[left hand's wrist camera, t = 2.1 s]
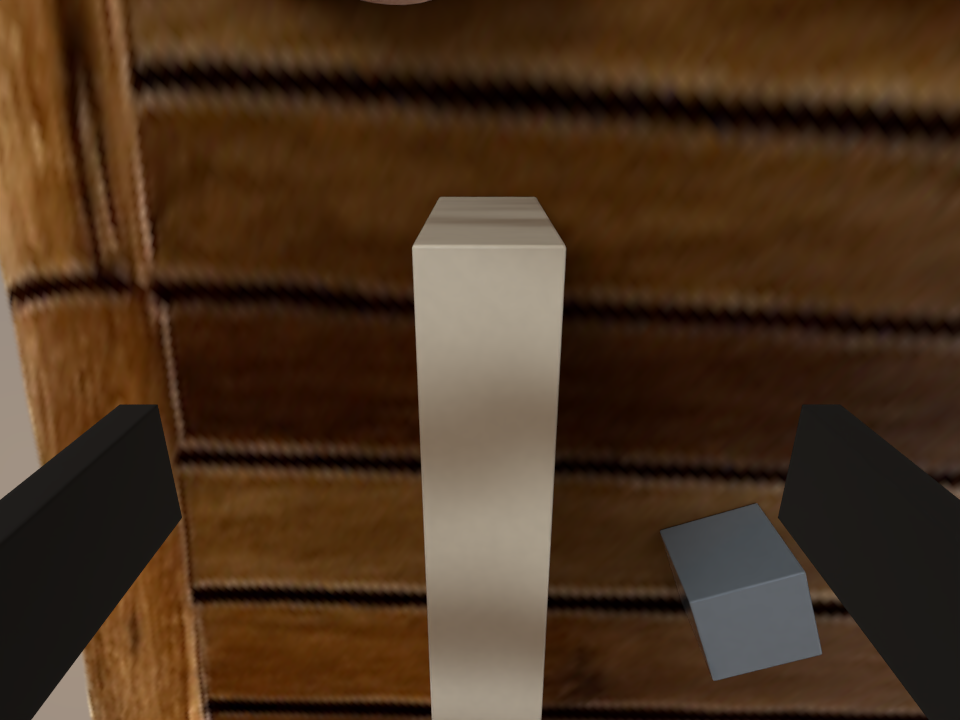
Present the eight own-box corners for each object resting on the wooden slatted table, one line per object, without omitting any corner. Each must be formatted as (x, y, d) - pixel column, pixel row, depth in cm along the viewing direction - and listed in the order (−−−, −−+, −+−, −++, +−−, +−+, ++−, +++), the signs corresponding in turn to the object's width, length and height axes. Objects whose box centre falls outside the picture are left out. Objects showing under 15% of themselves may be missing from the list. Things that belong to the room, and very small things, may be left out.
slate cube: (757, 502, 30) (806, 571, 26) (774, 577, 32) (823, 655, 27) (659, 529, 31) (689, 602, 26) (681, 602, 33) (713, 682, 28)
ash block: (439, 196, 25) (411, 245, 16) (536, 196, 25) (567, 245, 16) (449, 639, 34) (436, 837, 25) (521, 640, 34) (535, 838, 25)
